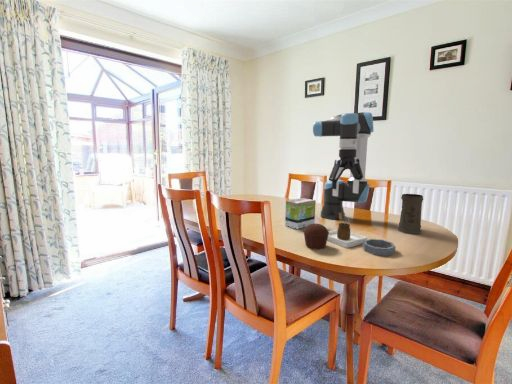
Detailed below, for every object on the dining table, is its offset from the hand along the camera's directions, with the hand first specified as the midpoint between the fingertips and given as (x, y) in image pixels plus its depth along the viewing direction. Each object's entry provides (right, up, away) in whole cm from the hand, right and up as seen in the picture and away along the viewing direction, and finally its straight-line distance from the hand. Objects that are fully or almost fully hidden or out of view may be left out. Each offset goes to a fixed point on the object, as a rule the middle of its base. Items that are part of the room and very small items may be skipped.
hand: (345, 194), depth 129 cm
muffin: (-15, -23, -4) cm, 28 cm away
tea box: (-17, -18, +29) cm, 38 cm away
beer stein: (+40, -19, +20) cm, 49 cm away
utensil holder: (0, -21, +3) cm, 21 cm away
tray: (0, -22, +3) cm, 22 cm away
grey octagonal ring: (+11, -24, -10) cm, 28 cm away
